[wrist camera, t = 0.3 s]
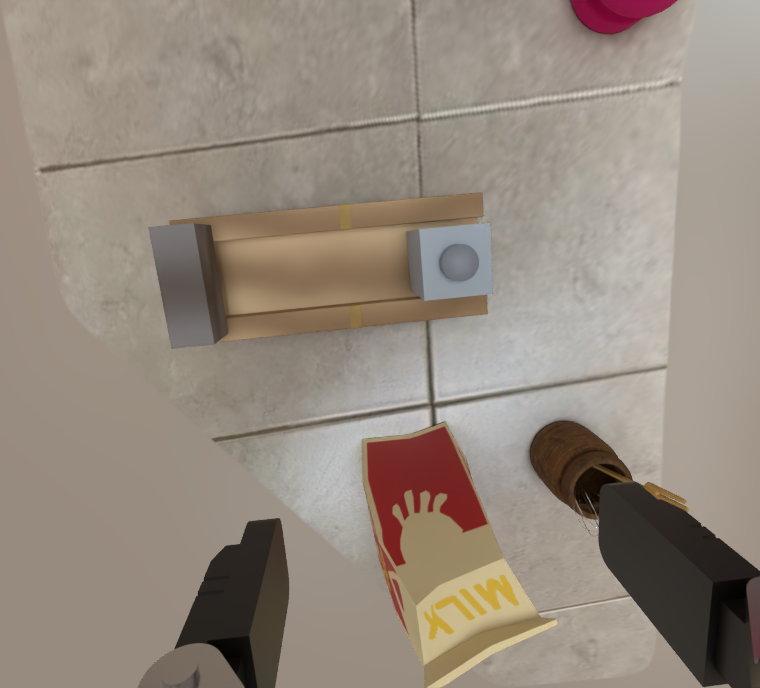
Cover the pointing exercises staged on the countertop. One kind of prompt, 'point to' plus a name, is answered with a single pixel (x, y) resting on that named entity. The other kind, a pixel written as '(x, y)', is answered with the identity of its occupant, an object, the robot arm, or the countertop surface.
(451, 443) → the milk carton
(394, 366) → the countertop surface
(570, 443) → the utensil holder
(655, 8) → the pepper mill
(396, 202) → the beam
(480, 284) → the rider
